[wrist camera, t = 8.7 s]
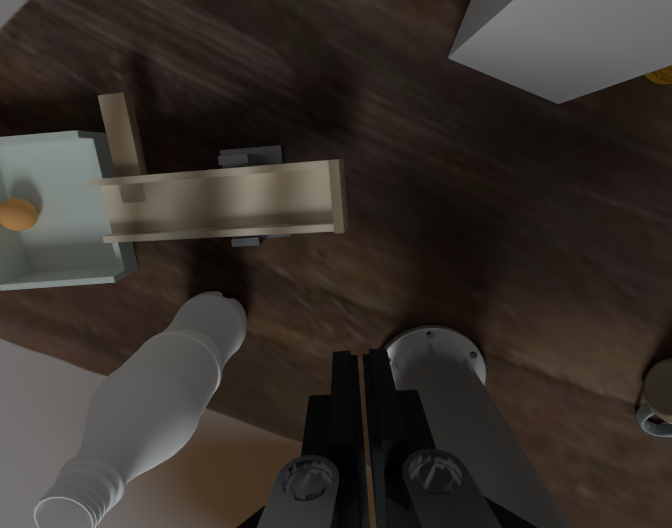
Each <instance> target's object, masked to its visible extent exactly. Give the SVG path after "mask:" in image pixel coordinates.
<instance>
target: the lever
mask: <svg viewBox="0 0 672 528" xmlns="http://www.w3.org/2000/svg"><path fill="white" fill-rule="evenodd" d="M98 99H99V104H100V108H101V112H102V117H103V121H104V126H105V130H106V134H107V139H108V143H109V147H110V152H111V156H112V160H113V165H114V169H115V173H116V177H114V178H102V179H91V180H88V181H89V185H90V187H93V186H100V187H101V192H102V196H103V200H104V204H105V208H106V212H107V216H108V220H109V225H110V229H111V233H112V234H109V235H106V236H102V237H103V241H104V243H113V242H133V241H153V240H173V239H193V238H213V237H232V236H252V235H272V234H292V233H312V232H332V231H334V233H344V232H345V231H346V229H347V227H348V213H347V199H346V185H345V171H344V159H335V160H324V161H312V162H300V163H287V164H275V165H263V166H250V167H243V166H234V167H233V168H225V169H213V170H201V171H188V172H176V173H164V174H151V175H148V173H147V168H146V163H145V158H144V153H143V149H142V144H141V139H140V134H139V129H138V125H137V120H136V115H135V110H134V105H133V100H132V96H131V94H128V93H116V94H107V95H99V96H98Z"/></svg>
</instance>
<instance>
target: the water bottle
mask: <svg viewBox="0 0 672 528" xmlns="http://www.w3.org/2000/svg"><path fill="white" fill-rule="evenodd" d="M246 323H247V317H246V313H245V310H244V308H243V307H242V305H241V304H240V302H239V301H238V300H236V299H234V298H225V297H223V296H222V293H220V292H218V291H211V292H204V293H201V294H199V295H196V296H194V297H193V298H191V299H190V300H188V301H187V302H186V303H185V304H184V305H183V306H182V307H181V308H180V310H179V311H178V312H177V314H176V316H175V318H174V320H173V322H172V323H171V324H170V325H169V326H168V327H167V329H166V330H164V331H163V332H162V333H160V334H158V335H156V336H154V337H152V338H150V339H149V340H148V341H146V342H145V343H144V344H143V345H142V346H141V348H140V349H139V350H138V351H137V352H136V353H135V354H133V355H132V356H131V357H130V358H129V359H128V360H127V361H126V362H125V363H124V364H123V365H122V366H121V367H120V368H119V369H117V370H116V371H114V372H113V373H111V374H110V375H109V376H108V377H107V378H106V379H105V380H104V381H103V383H102V384H101V385H100V386H99V388H98V389H97V391H96V393H95V394H94V397H93V398H92V401H91V403H90V406H89V409H88V413H87V417H86V422H85V427H84V434H83V440H82V445H81V448H80V451H79V453H78V455H77V456H76V457H74V458H72V459H70V460H69V461H68V462H67V463H66V464H65V465H64V466H63V467H62V469H61V471H60V473H59V475H58V476H57V478H56V481H55V483H54V486H53V487H51V488H50V489H49V490H48V491H47V493H46V494H45V495H44V496H43V497H42V498H41V500H40V503H39V504H38V505H37V506H36V507H35V511H34V519H35V522H36V525H37V527H39V528H96V527H97V525H98V524H99V523H100V521H101V519H102V517H103V516H104V515H105V513H107V512H108V511H109V510H110V509H111V508H112V507H113V506H114V505H115V504H116V503H118V502H119V501H120V499H121V498H122V496H123V495H124V492H125V489H126V484H127V483H128V482H129V481H131V480H132V479H133V478H135V477H136V476H138V475H140V474H142V473H144V472H145V471H147V470H150V469H152V468H153V467H155V466H157V465H158V464H160V463H162V462H163V461H165V460H167V459H168V458H170V457H171V456H173V455H174V454H175V453H176V452H178V451H179V450H180V449H181V448H182V447H183V446H184V445H185V444H186V443H187V441H188V440H189V439H190V437H191V436H192V435H193V433H194V431H195V430H196V428H197V424H198V422H199V419H200V417H201V415H202V413H203V411H204V410H205V408H206V406H207V404H208V402H209V400H210V398H211V397H212V395H213V394H214V392H215V391H216V389H217V388H218V386H219V384H220V380H221V376H222V369H223V367H224V365H225V364H226V362H227V360H228V359H229V358H230V357H231V356H232V354H234V353H235V352H236V351H237V350H238V349H239V347H240V346H241V344H242V342H243V340H244V337H245V335H246Z"/></svg>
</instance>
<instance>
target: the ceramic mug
mask: <svg viewBox="0 0 672 528" xmlns="http://www.w3.org/2000/svg"><path fill="white" fill-rule="evenodd" d="M644 395H645V399H646V401H647V403H645V404H643V405H642V406H640V408H639V409H638V410H637V412H636V418H637V420H638V422H639V424H640V426H641V427H642V429H643V430H644V431H646V432H647V433H649V434H652V435H655V436H661V437H672V358H667V359H664V360H661V361H660V362H658V363H656V364H655V365H654V366H653V367H652V368H651V369H650V370H649V372H648V374H647V376H646V378H645V382H644ZM654 414H656V415H657V416H659V417H660V418H661V419H663V420H665V421H667V422H668V423H670V424H664V425H661V424H655V423H652V422H650V421H647V419H648V418H649V417H651V416H652V415H654Z"/></svg>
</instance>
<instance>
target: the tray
mask: <svg viewBox="0 0 672 528" xmlns="http://www.w3.org/2000/svg"><path fill="white" fill-rule="evenodd" d="M114 177H116V173H115V169H114V165H113V160H112V156H111V152H110V147H109V143H108V139H107V134H106V133H99V132H89V131H78V130H76V131H64V132H53V133H41V134H30V135H18V136H7V137H0V204H1V203H2V202H3V201H5V200H8V199H12V198H20V199H24V200H27V201H29V202H30V203H32V204H33V205H34V206H35V208H36V209H37V211H38V220H37V222H36V224H35V225H34V226H33V227H31V228H29V229H27V230H22V231H16V230H11V229H8V228H6V227H5V226H3V225H2V224H1V223H0V291H1V290H15V289H29V288H43V287H57V286H71V285H85V284H99V283H113V282H116V281H118V280H120V279H122V278H124V277H125V276H127V275H129V274H131V273H132V272H134V271H136V270H138V265H137V260H136V256H135V251H134V247H133V243H132V242H113V243H104V241H103V237H102V236H106V235H109V234H112V233H111V229H110V225H109V220H108V216H107V212H106V208H105V204H104V200H103V196H102V192H101V187H100V186H93V187H90V185H89V181H88V180H91V179H102V178H114Z"/></svg>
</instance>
